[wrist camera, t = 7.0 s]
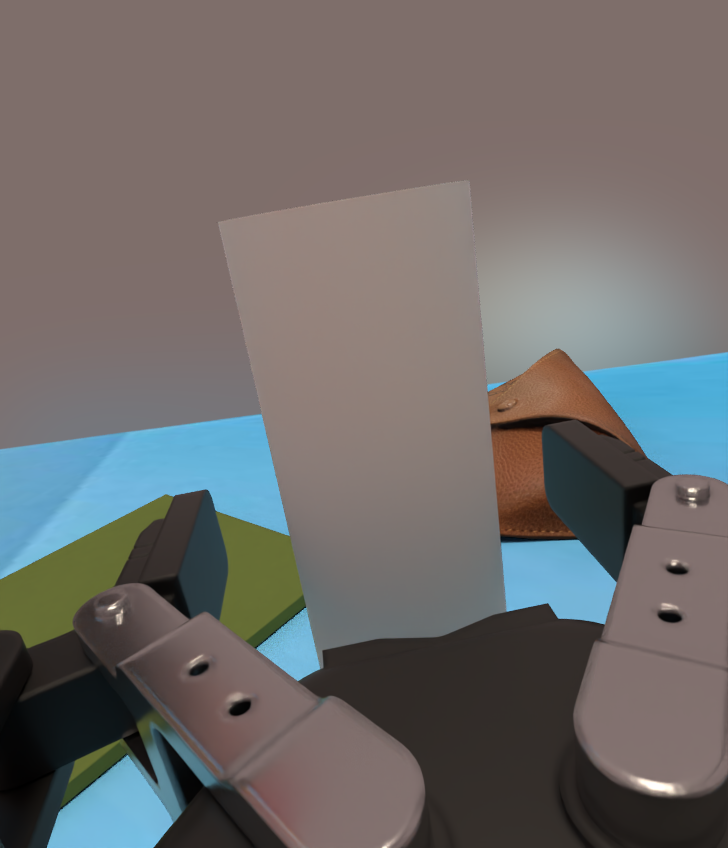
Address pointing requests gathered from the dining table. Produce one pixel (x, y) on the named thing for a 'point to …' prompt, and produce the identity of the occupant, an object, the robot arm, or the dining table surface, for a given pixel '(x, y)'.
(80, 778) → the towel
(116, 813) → the dining table surface
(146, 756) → the robot arm
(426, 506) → the tube
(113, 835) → the dining table surface
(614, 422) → the sunglasses case
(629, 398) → the dining table surface
